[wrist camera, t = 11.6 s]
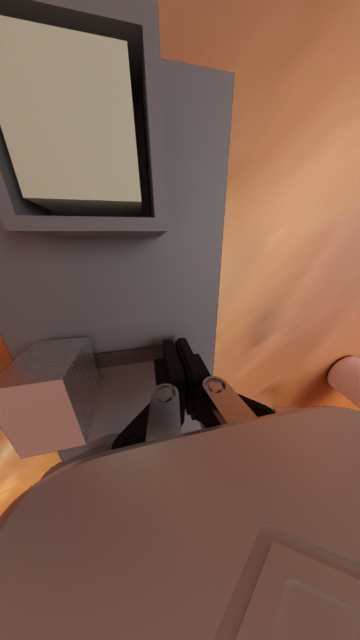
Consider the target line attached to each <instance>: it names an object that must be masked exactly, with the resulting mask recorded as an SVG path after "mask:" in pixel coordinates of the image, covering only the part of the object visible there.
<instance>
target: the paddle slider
mask: <svg viewBox="0 0 360 640" xmlns="http://www.w3.org/2000/svg"><path fill="white" fill-rule="evenodd" d="M101 391H102V386H101V382H100V379H99V375H98V371H97V367H96V363H95V359H94V355H93V352H92V348H91V344H90V340H89V336H87V337H78V338H69V339H60V340H50V341H41V342H35V343H34V344H33V345H32V346H31V347H29V348H28V349H27V350H26V351H25V352H24V353H22V354H21V355H20V356H19V357H18V358H17V359H16V360H14V361H13V362H12V363H11V364H10V365H9V366H7V367H6V368H5V369H4V370H3V371H2V372H1V373H0V427H1V428H2V430H3V431H4V433H5V434H6V436H7V438H8V439H9V441H10V442H11V444H12V445H13V447H14V449H15V450H16V452H17V453H18V455H19V456H20V458H21V459H22V458H27V457H31V456H36V455H40V454H45V453H50V452H54V451H59V450H63V449H68V448H73V447H77V446H82V445H86V443H87V440H88V436H89V433H90V429H91V426H92V422H93V419H94V415H95V412H96V408H97V405H98V401H99V398H100V394H101Z"/></svg>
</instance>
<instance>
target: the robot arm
mask: <svg viewBox="0 0 360 640" xmlns="http://www.w3.org/2000/svg"><path fill="white" fill-rule="evenodd" d="M162 346H163V358H160V359H154V371H155V381H156V387H155V388H154V389H153V391H152V393H151V400H150V403H149V404H148V405H147V406H146V407H145V408H144V409H143V410H142V411H141V412H140V413H139V414H138V415H137V416H136V417H135V418H134V419H133V420H132V421H131V423H130V424H129V425H128V426H127V427H126V428H125V429H124V430H123V431H122V432H121V433H120V434H119V435H118V436H117V437H116V439H115V440H114V442H112V443H110V444H108V445H106V443H104V444H102V445H99V446H97V447H95V448H92V449H90V450H88V451H85V452H83V453H81V454H79V455H76V456H74V457H72V458H69V459H67V460H65V461H62V462H60V463H58V464H56V465H55V466H53V467H52V468H50V469H49V470H48V471H47V472H46V473H45V474H44V476H43V477H42V478H41V480H40V481H38V482H37V483H35V484H34V485H33V486H31V487H30V488H29V489H27V490H26V491H25V492H23V493H22V494H21V495H20V496H19V497H18V498H17V499H15V500H14V501H13V502H12V503H11V504H10V505H9V507H8V508H7V509H6V510H5V511H4V512H3V514H2V515H1V516H0V640H360V411H357V410H353V409H349V408H343V407H336V406H316V407H308V408H280V407H273V410H272V409H271V408H269V407H267V406H266V405H263V404H261V403H259V402H256V401H254V400H251V399H249V398H247V397H244V396H242V395H240V394H237V393H236V392H235V391H234V390H233V388H232V387H231V386H230V385H229V384H228V383H227V382H226V381H225V380H224V379H222V378H221V377H217V376H211V375H210V373H209V371H208V369H207V368H206V366H205V364H204V362H203V360H202V359H201V357H200V355H199V354H193V352H192V350H191V348H190V346H189V344H188V342H187V340H186V338H178V339H177V340H176V341H175V345H174V342H173V341H170V339H167V340H162ZM185 409H186V413H187V415H190V416H191V419H192V421H193V420H197V421H198V422H200V426H201V429H200V430H196V431H191V432H187V433H182V434H181V427H182V425H183V423H184V416H185Z"/></svg>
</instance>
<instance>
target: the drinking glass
mask: <svg viewBox="0 0 360 640" xmlns="http://www.w3.org/2000/svg"><path fill="white" fill-rule="evenodd" d="M327 380H328V383H329V385H330V386H331V387H332V388H334V389H335V390H337V391H338V392H339V393H341V394H342V395H344V396H345V397H346V398H347V399H349V400H350V401H351V402H352V403H354V404H355V405H356V406H357V407H359V408H360V358H359V357H355V356H349V357H345V358H343V359H341V360H339V361H338V362H337V363H335V364H334V365H333V367H332V368H331V369H330V371H329V373H328V376H327Z"/></svg>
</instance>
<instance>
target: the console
mask: <svg viewBox="0 0 360 640" xmlns="http://www.w3.org/2000/svg"><path fill="white" fill-rule="evenodd" d="M0 15H2V16H7V17H12V18H17V19H21V20H26V21H31V22H36V23H41V24H46V25H51V26H56V27H61V28H65V29H70V30H75V31H80V32H85V33H90V34H95V35H100V36H104V37H109V38H114V39H119V40H124V41H127V47H128V58H129V69H130V80H131V91H132V102H133V113H134V125H135V136H136V147H137V158H138V169H139V180H140V191H141V216H111V215H61V214H58V213H56V212H54V211H52V210H49V209H47V208H45V207H43V206H41V205H38V204H36V203H34V202H32V201H29V200H27V199H25V198H23V196H22V192H21V189H20V186H19V183H18V180H17V176H16V173H15V170H14V167H13V164H12V161H11V157H10V154H9V151H8V148H7V145H6V142H5V138H4V135H3V132H2V129H1V126H0V334H1V336H2V338H3V340H4V342H5V344H6V346H7V348H8V350H9V352H10V355H11V357H12V359H13V361H14V360H16V359H17V358H18V357H19V356H20V355H21V354H22V353H24V352H25V351H26V350H27V349H28V348H29V347H31V346H32V345H33V344H34V343H35V342H41V341H50V340H60V339H69V338H78V337H87V336H89V340H90V344H91V348H92V352H93V355H94V359H95V363H96V367H97V371H98V375H99V379H100V382H101V386H102V391H101V394H100V398H99V401H98V405H97V408H96V412H95V415H94V419H93V422H92V426H91V429H90V433H89V436H88V440H87V443H86V445H82V446H77V447H73V448H68V449H63V450H59V451H57V452H58V454H59V456H60V458H61V460H62V461H65V460H67V459H69V458H72V457H74V456H76V455H79V454H81V453H83V452H85V451H88V450H90V449H92V448H95V447H97V446H99V445H102V444H104V443H106V445H108V444H110V443H112V442H114V440H115V439H116V437H117V436H118V435H119V434H120V433H121V432H122V431H123V430H124V429H125V428H126V427H127V426H128V425H129V424H130V423H131V421H132V420H133V419H134V418H135V417H136V416H137V415H138V414H139V413H140V412H141V411H142V410H143V409H144V408H145V407H146V406H147V405H148V404H149V403H150V400H151V393H152V391H153V389H154V388H155V387H156V381H155V371H154V359H160V358H163V346H162V340H167V339H170V341H173V342H174V345H175V341H176V340H177V339H178V338H186V340H187V342H188V344H189V346H190V348H191V350H192V352H193V354H199V355H200V357H201V359H202V360H203V362H204V364H205V366H206V368H207V369H208V371H209V373H210V375H211V376H213V366H214V352H215V338H216V324H217V310H218V297H219V283H220V269H221V255H222V241H223V227H224V213H225V199H226V185H227V171H228V157H229V143H230V129H231V115H232V101H233V88H234V74H235V73H233V72H227V71H222V70H217V69H212V68H207V67H202V66H196V65H191V64H186V63H181V62H176V61H170V60H165V59H160V42H159V18H158V2H156V1H152V0H0ZM200 429H201V426H200V422H198V421H197V420H193V421H192V419H191V416H190V415H187V413H186V409H185V416H184V423H183V425H182V427H181V434H182V433H187V432H191V431H196V430H200Z"/></svg>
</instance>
